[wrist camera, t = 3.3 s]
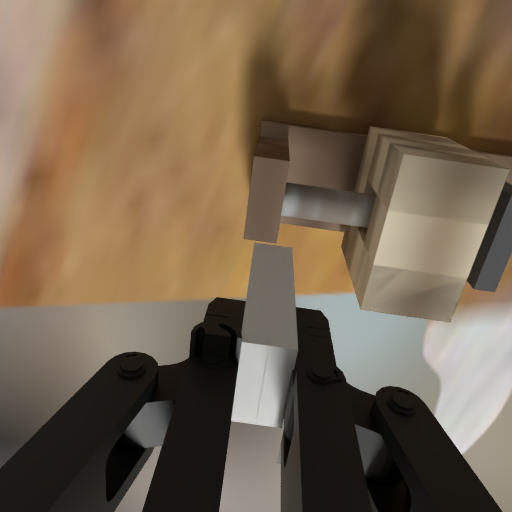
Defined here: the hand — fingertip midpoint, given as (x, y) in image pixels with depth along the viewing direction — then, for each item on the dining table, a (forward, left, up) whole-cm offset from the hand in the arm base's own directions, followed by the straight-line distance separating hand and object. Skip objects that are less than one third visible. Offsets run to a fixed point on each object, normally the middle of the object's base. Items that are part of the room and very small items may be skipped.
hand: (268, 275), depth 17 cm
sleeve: (0, +8, -14) cm, 16 cm away
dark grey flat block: (0, +13, -12) cm, 18 cm away
